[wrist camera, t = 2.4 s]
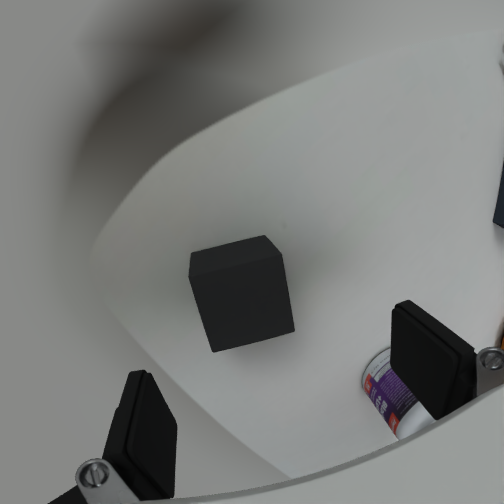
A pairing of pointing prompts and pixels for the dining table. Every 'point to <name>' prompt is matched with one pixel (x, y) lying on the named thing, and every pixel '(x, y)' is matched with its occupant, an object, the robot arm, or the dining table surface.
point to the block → (241, 293)
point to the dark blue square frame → (500, 204)
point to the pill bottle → (394, 398)
